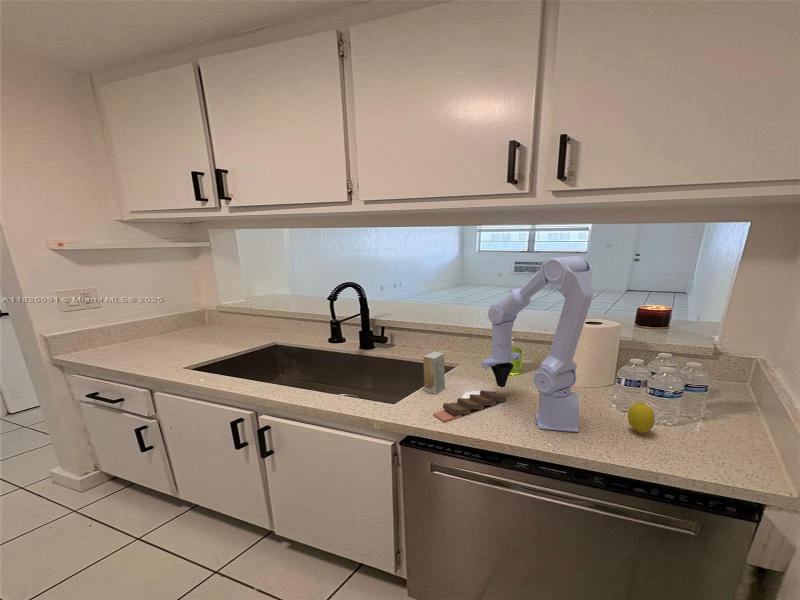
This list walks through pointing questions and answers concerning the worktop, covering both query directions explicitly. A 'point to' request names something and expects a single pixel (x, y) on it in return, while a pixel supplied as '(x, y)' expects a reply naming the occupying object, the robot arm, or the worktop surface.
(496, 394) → the domino
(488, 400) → the domino
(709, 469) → the worktop surface
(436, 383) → the skincare box
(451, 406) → the domino
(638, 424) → the lemon
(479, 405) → the domino
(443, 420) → the domino
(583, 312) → the robot arm
